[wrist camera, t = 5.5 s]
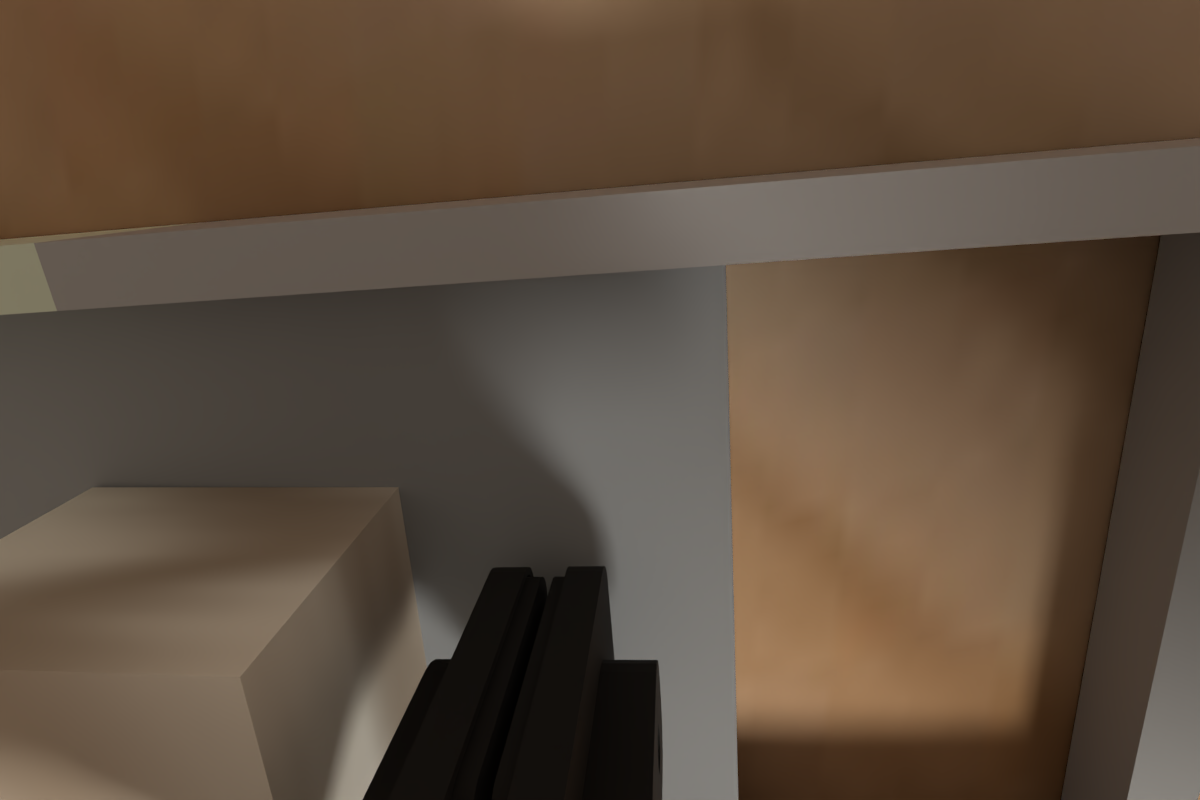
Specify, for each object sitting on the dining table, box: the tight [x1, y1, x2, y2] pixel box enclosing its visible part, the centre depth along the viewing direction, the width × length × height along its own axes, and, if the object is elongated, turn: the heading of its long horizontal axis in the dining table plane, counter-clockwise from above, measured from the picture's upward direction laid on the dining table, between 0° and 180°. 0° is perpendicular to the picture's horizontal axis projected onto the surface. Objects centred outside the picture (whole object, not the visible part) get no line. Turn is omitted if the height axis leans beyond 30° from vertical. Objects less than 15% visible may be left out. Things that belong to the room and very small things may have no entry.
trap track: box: [0, 138, 1200, 800], centre depth 11 cm, size 30×13×3 cm, turn 95°
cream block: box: [0, 487, 427, 800], centre depth 9 cm, size 5×5×4 cm
